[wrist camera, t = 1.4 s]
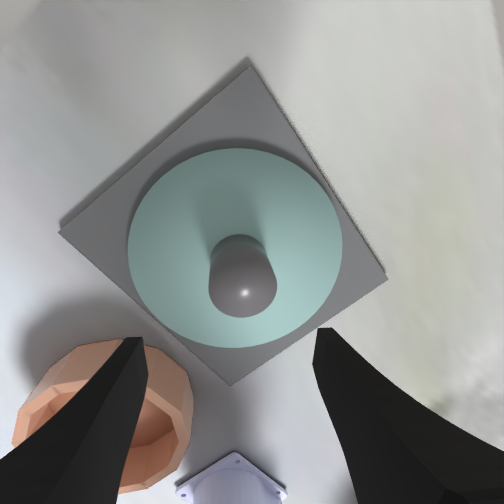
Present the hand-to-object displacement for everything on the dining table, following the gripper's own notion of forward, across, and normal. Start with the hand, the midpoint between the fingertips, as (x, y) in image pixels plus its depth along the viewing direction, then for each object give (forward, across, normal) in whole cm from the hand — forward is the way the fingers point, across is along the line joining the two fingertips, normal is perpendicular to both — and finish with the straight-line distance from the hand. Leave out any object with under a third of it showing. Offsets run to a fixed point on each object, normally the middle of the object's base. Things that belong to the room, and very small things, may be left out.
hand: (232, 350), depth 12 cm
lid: (+10, -1, +1) cm, 10 cm away
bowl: (+9, +9, +14) cm, 19 cm away
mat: (+10, -1, +1) cm, 10 cm away
